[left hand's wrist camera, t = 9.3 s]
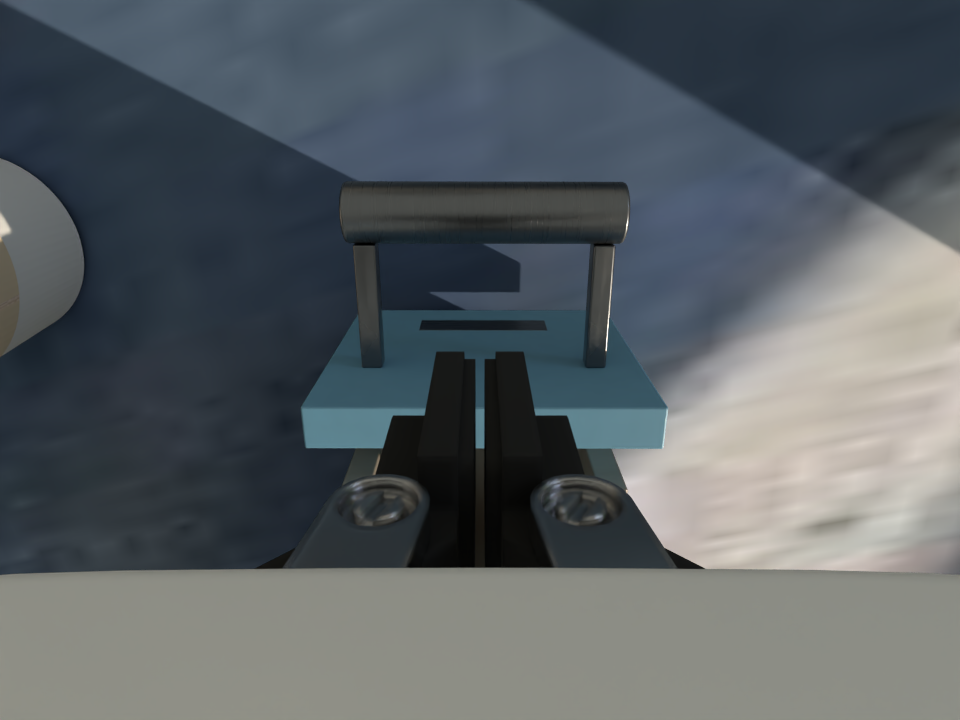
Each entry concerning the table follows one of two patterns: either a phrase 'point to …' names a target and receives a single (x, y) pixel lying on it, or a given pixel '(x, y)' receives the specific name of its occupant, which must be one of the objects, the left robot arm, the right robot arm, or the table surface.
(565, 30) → the table surface
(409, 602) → the left robot arm
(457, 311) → the drawer
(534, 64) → the table surface
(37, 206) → the coffee cup
